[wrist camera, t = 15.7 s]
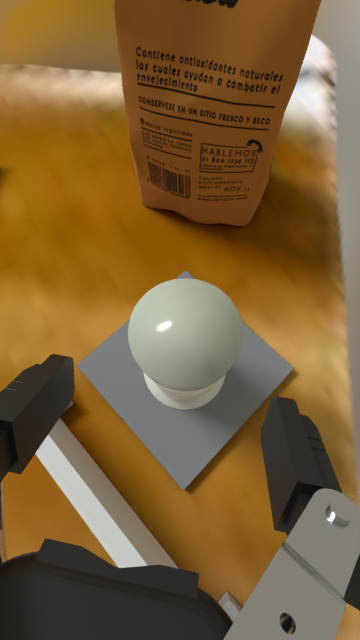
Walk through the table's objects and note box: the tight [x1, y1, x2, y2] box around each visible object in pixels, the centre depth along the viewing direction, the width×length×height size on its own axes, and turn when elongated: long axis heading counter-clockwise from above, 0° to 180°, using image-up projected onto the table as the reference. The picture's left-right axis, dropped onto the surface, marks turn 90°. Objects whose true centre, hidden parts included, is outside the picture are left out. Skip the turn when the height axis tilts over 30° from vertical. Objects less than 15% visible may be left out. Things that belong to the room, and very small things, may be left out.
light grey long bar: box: [35, 400, 242, 623], centre depth 18 cm, size 4×20×4 cm, turn 44°
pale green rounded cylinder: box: [128, 278, 243, 402], centre depth 18 cm, size 5×5×10 cm
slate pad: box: [77, 270, 294, 490], centre depth 23 cm, size 12×12×1 cm
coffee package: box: [113, 0, 321, 226], centre depth 19 cm, size 10×12×22 cm
